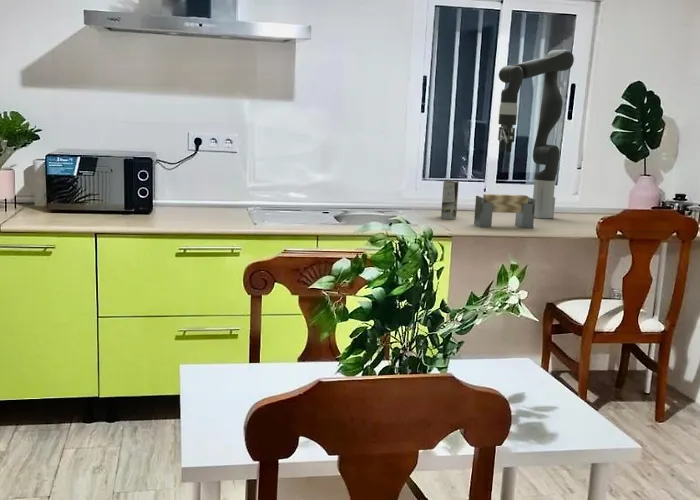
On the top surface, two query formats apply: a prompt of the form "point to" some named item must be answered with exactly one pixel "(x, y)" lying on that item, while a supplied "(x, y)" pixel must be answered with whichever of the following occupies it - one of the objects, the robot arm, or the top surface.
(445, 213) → the coffee box
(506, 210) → the rail
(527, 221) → the bracket
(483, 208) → the bracket
